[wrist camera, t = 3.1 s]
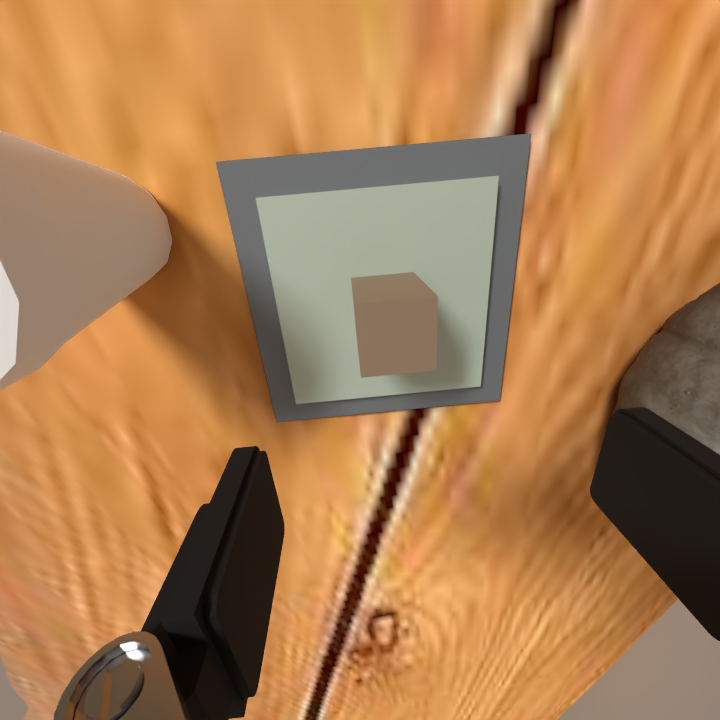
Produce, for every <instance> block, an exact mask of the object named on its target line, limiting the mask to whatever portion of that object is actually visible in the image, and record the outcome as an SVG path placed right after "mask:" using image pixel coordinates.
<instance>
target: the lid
mask: <svg viewBox="0 0 720 720" xmlns="http://www.w3.org/2000/svg"><path fill="white" fill-rule="evenodd" d="M498 181H499V176H490V177H479V178H468V179H457V180H446V181H435V182H424V183H413V184H402V185H391V186H380V187H369V188H358V189H347V190H336V191H325V192H314V193H303V194H292V195H281V196H270V197H259V198H256V203H257V208H258V213H259V218H260V223H261V228H262V233H263V239H264V244H265V249H266V254H267V259H268V264H269V269H270V274H271V279H272V284H273V289H274V295H275V300H276V305H277V310H278V315H279V320H280V325H281V330H282V335H283V340H284V345H285V351H286V356H287V361H288V366H289V371H290V376H291V381H292V386H293V391H294V396H295V401H296V404H304V403H314V402H325V401H335V400H345V399H356V398H366V397H376V396H387V395H397V394H408V393H418V392H428V391H439V390H449V389H459V388H470V387H480V386H481V377H482V365H483V354H484V342H485V331H486V319H487V308H488V296H489V285H490V273H491V262H492V250H493V239H494V227H495V216H496V204H497V193H498Z"/></svg>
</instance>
